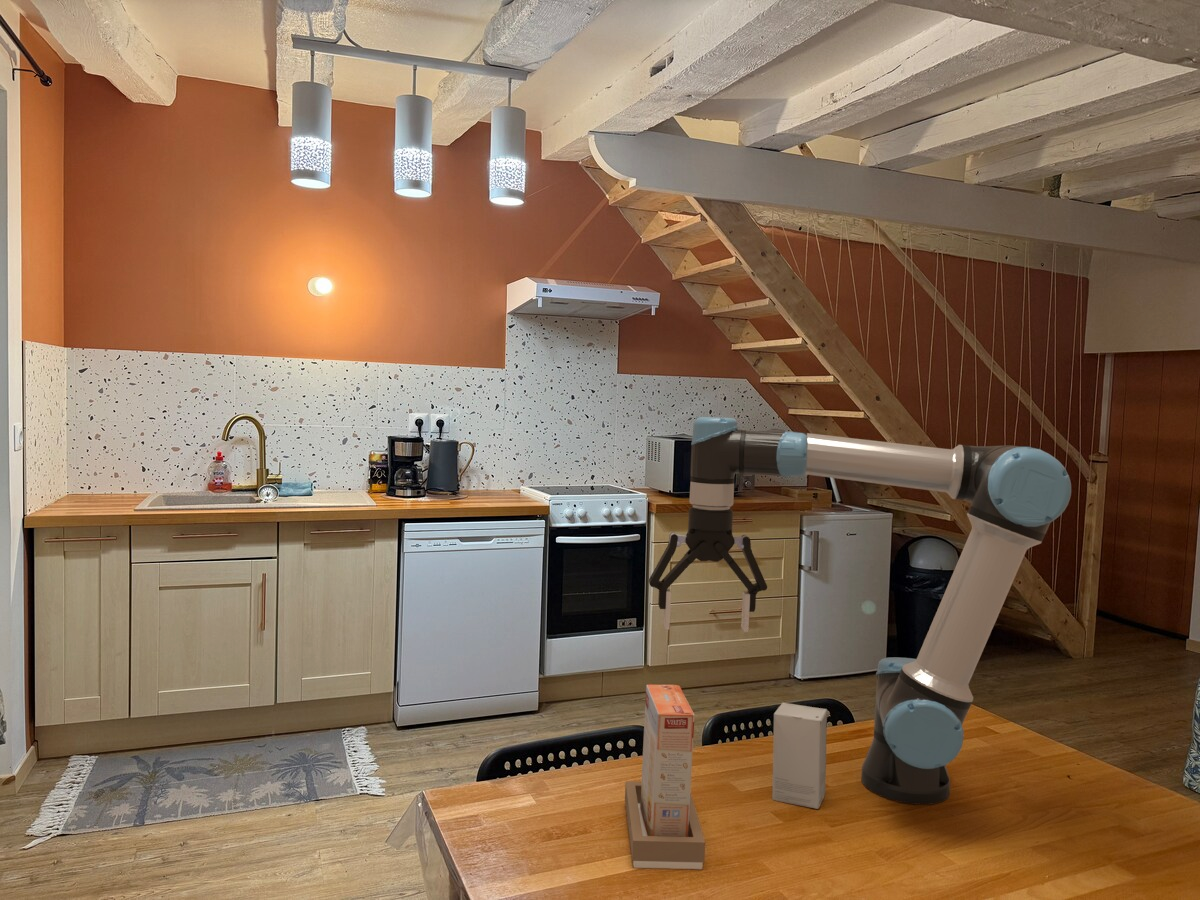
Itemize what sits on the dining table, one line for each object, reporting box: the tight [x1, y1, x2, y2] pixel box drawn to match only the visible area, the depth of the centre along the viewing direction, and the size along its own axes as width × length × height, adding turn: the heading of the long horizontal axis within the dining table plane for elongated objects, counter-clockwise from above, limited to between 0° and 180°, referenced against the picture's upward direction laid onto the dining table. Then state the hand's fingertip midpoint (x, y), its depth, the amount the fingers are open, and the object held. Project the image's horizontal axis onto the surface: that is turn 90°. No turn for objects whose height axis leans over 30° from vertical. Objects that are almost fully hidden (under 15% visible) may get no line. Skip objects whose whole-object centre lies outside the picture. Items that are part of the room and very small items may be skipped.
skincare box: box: [771, 702, 828, 810], centre depth 152 cm, size 8×7×16 cm
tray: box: [624, 780, 706, 870], centre depth 138 cm, size 10×20×4 cm, turn 2°
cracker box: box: [640, 684, 695, 837], centre depth 138 cm, size 14×6×21 cm, turn 4°
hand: (705, 629), depth 153 cm, fingers open, 13 cm apart
